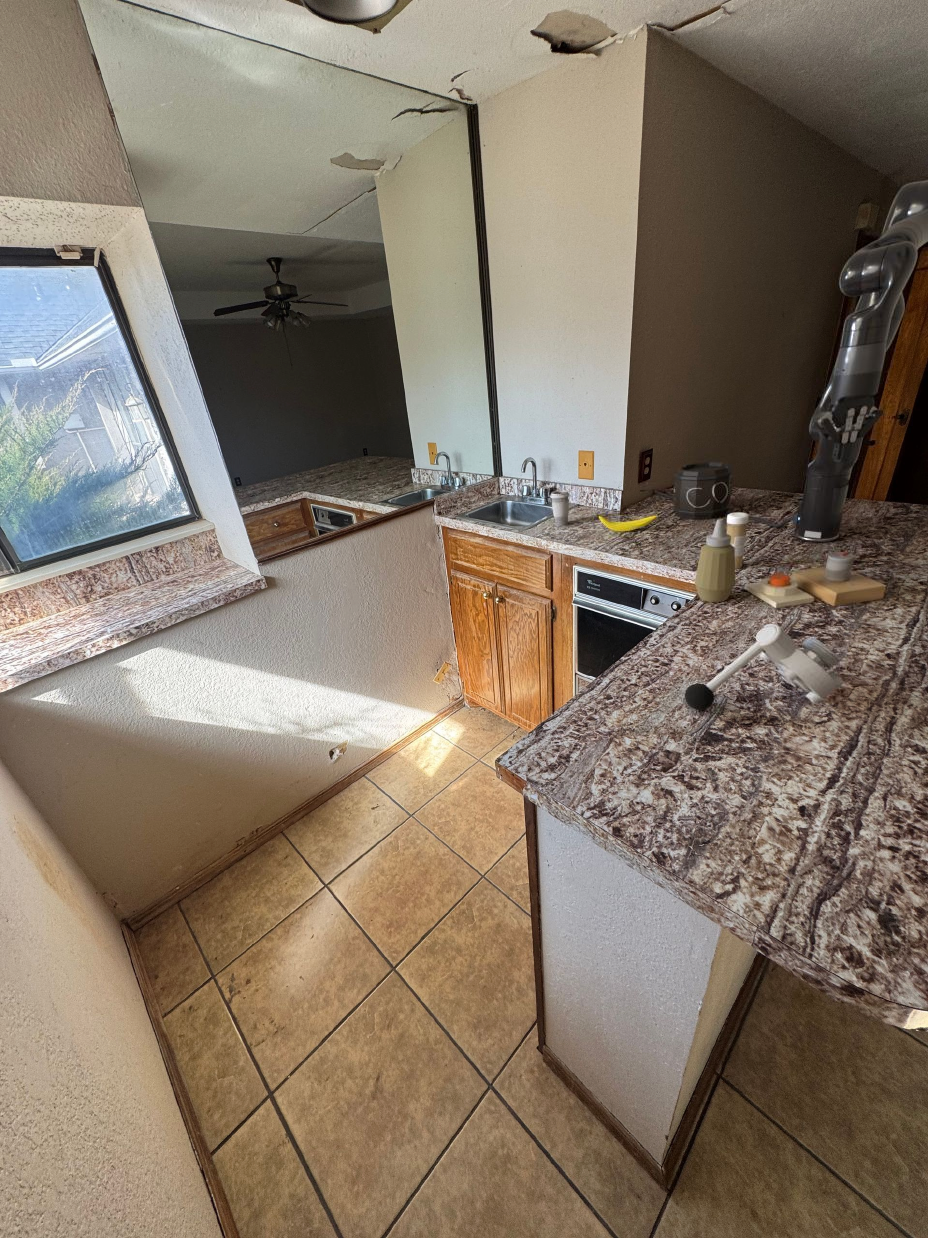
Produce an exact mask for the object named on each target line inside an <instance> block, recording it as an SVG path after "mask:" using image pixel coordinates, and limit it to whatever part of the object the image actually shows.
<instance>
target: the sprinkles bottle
mask: <svg viewBox="0 0 928 1238" xmlns="http://www.w3.org/2000/svg"><path fill="white" fill-rule="evenodd" d="M730 513H731V514H728V515H726V525H727V526H726V534H728V535H730V536H731V543H730V544H731V545H732V546H733V547H734V548H735V569H741V568H742V567H743V565H744V564H743V558H744V554H745V546H746V538H747V528H748V523H749V519H748V518H749V516H750V515H749V514H748V513H746V512H740V511H739V512H730Z"/></svg>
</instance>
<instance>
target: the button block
mask: <svg viewBox="0 0 928 1238" xmlns="http://www.w3.org/2000/svg"><path fill="white" fill-rule="evenodd" d="M769 582H770V577H766V578H763V579H762V580H761V581H757V582H750V583H746V584H744V589H745V590H746V591H747V592H749V593H751V594H752V595H754V596H755V597H757V598H759V599H760V600H762V601H763V602H765V603H767V604H768V605H770V606H772V607H774V608H775V609H777V608H778V609H779V608H785V607H790V606H796V605H797V606H798V605H804V604H810V603H814V601H815V596H814V595H812V594H810V593H808V592H806V591H804V590H802V589H800V588H799V587H797V586H798V585H797V582H796V581H794V580H792V579H791V578H790V582H789V586H785V587H777V586H772V585H770V584H769Z"/></svg>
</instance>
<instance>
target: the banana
mask: <svg viewBox="0 0 928 1238" xmlns="http://www.w3.org/2000/svg"><path fill="white" fill-rule="evenodd" d="M596 517H598V519H599V520H600V521H601V523H602V524H603V525H604V526H605V527H606V528H607V529H609V530H611V531H614V532H618V533H619V532H620V533H621V532H622V533H624V532H630V531H633V530H637V529H640V528H641V529H642V528H644V527H645V526H648V525H650V524H651V523H652V522H653V521H655V519H657V517H658V515H651V516H646V517H643V518H640V519H636V520H628V521H612V520H609V519H608V518H606V517H604V516H601V515H599V513H597V514H596Z"/></svg>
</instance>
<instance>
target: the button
mask: <svg viewBox="0 0 928 1238" xmlns="http://www.w3.org/2000/svg"><path fill="white" fill-rule="evenodd" d="M769 578H770V582H769V584H770V585H772V586H777V587H785V586H789V582H790V579H791V576H790V575H789V574H785V573H773V574H771V575H770V577H769Z"/></svg>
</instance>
